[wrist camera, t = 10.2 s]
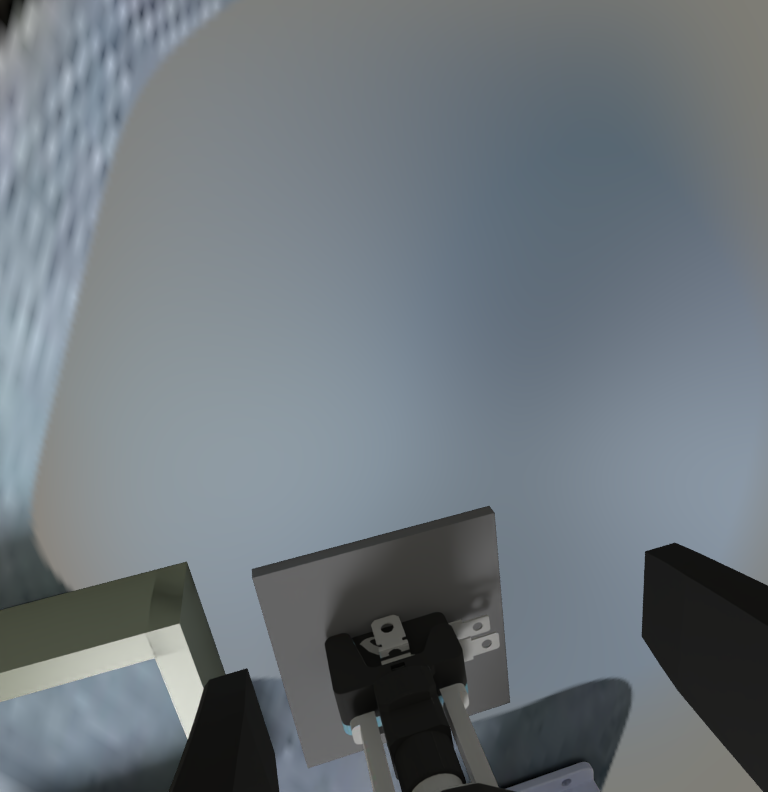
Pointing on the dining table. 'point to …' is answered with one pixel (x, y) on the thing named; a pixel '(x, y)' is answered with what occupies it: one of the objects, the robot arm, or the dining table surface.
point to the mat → (380, 612)
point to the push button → (413, 701)
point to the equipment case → (113, 637)
